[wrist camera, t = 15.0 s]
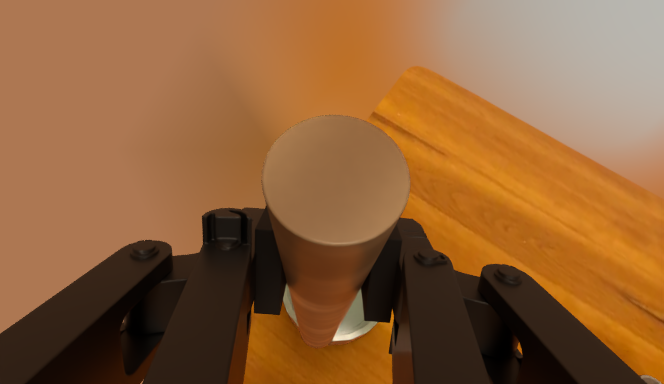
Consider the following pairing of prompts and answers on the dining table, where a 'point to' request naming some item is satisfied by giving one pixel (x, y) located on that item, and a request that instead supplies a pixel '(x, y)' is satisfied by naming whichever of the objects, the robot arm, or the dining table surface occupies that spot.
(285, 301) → the bowl
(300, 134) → the stick
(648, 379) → the wristwatch
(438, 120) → the dining table surface
